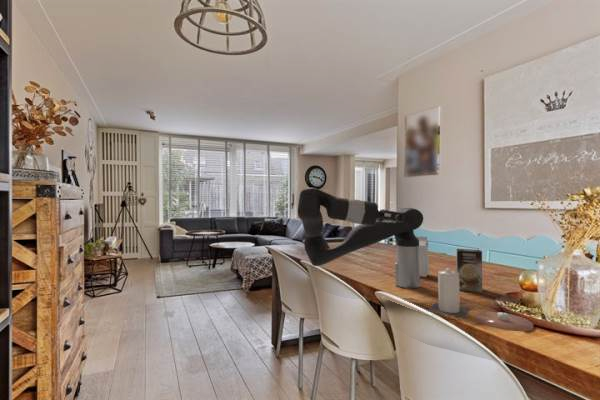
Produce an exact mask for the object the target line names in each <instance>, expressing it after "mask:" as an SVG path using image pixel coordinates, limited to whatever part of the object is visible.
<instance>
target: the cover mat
mask: <svg viewBox="0 0 600 400" xmlns="http://www.w3.org/2000/svg"><path fill="white" fill-rule="evenodd" d="M471 309H472V308H471V307H465V306H460V311H459V312H456V313H449V312H444V311H441V310H440V309H439V302H434V303H433V304H432V305H431V306H430V307H429V308H428V309H427V310H428V311H427V312H429V311H430V313H436V314H441V315H446V316H450V317H451V316H452V317H458V318H463V319H466V318H467V316H468V314H469V312H470V310H471Z"/></svg>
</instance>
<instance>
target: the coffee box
mask: <svg viewBox="0 0 600 400" xmlns="http://www.w3.org/2000/svg"><path fill="white" fill-rule="evenodd" d="M456 272H458V273H459V291H464V292H473V293H474V292H476V293H483V251H482V250H480V249H469V248H467V249H466V248H456Z"/></svg>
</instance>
